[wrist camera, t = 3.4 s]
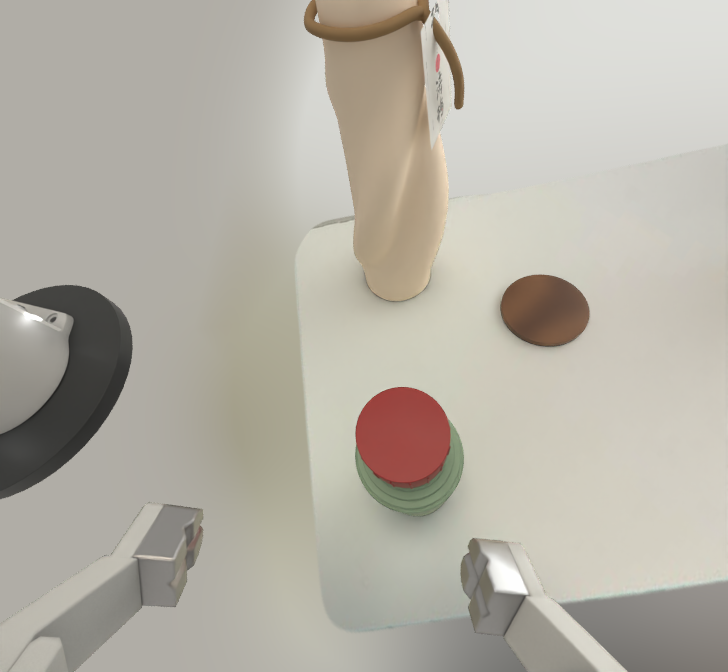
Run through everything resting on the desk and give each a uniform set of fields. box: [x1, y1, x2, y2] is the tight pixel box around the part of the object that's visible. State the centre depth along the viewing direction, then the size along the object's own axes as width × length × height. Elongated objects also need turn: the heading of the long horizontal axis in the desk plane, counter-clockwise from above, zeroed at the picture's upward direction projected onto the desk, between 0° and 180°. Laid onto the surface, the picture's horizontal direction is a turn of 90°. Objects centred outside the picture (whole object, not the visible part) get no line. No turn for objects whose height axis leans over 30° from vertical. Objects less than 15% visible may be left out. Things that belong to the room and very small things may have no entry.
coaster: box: [501, 275, 589, 346], centre depth 37 cm, size 8×8×1 cm
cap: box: [356, 387, 451, 489], centre depth 17 cm, size 4×4×3 cm
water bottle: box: [304, 0, 464, 301], centre depth 30 cm, size 10×9×28 cm
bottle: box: [355, 418, 464, 516], centre depth 24 cm, size 6×6×18 cm
